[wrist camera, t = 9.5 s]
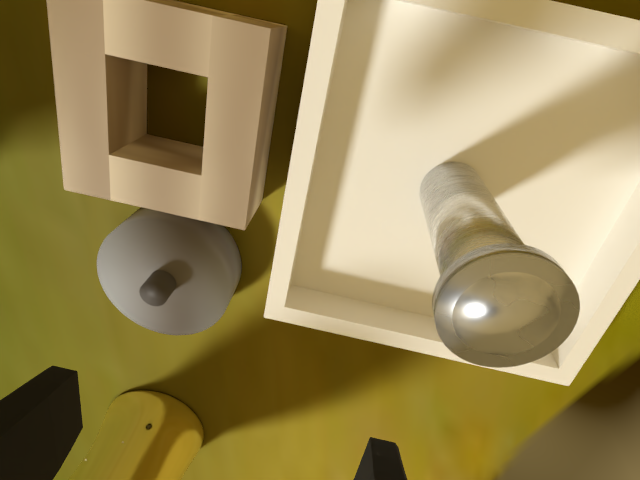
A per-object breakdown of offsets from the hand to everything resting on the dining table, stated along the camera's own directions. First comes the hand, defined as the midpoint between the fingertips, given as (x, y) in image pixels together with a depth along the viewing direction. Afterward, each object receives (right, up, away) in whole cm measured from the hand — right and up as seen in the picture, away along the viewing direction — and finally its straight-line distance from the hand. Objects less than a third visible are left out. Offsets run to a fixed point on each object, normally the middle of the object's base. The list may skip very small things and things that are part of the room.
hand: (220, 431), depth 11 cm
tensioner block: (-4, +7, +8) cm, 12 cm away
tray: (+8, +7, +7) cm, 13 cm away
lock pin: (+8, +7, +6) cm, 12 cm away
